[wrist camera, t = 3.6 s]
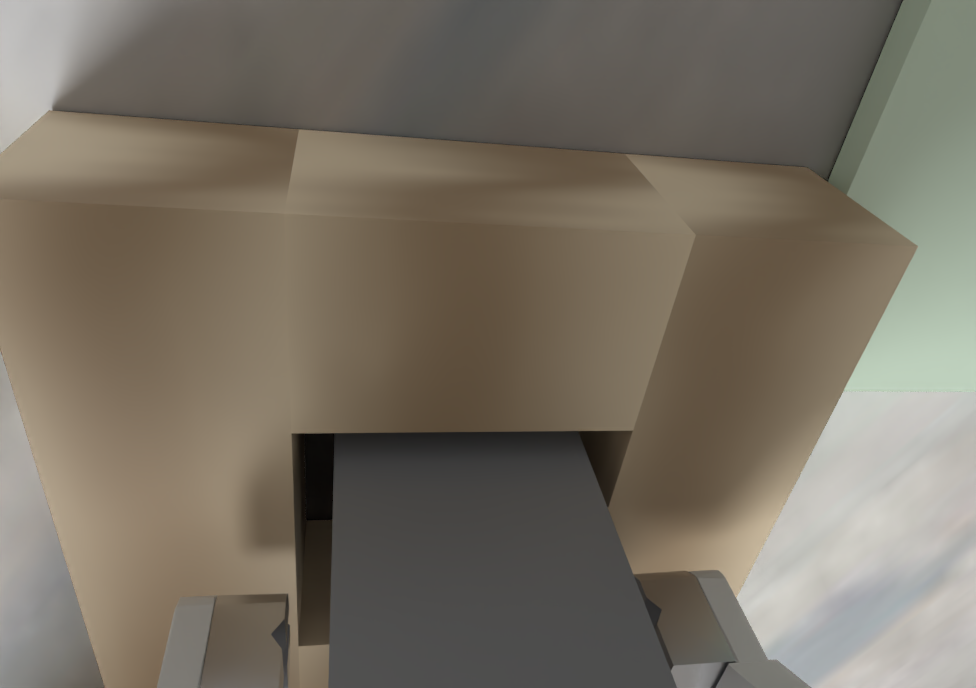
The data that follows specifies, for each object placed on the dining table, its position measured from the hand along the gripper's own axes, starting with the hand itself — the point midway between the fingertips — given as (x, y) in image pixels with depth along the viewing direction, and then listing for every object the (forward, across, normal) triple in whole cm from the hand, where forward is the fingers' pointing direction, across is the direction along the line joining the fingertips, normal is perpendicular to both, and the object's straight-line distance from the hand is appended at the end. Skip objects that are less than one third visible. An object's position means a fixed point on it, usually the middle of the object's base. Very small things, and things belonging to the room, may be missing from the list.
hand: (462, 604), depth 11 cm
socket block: (+4, 0, 0) cm, 4 cm away
